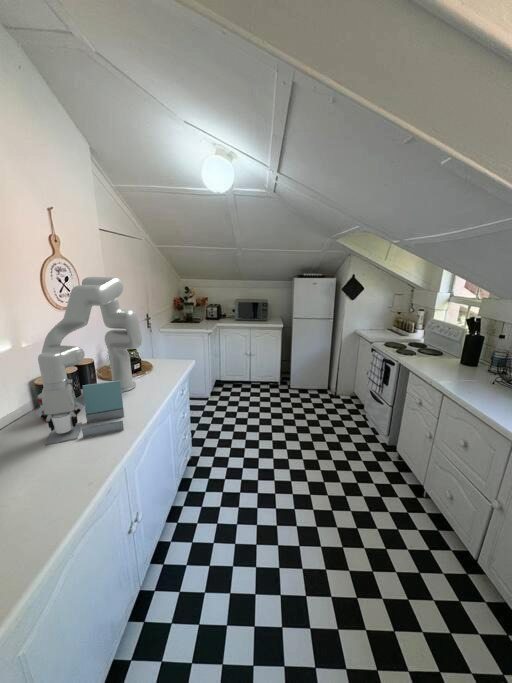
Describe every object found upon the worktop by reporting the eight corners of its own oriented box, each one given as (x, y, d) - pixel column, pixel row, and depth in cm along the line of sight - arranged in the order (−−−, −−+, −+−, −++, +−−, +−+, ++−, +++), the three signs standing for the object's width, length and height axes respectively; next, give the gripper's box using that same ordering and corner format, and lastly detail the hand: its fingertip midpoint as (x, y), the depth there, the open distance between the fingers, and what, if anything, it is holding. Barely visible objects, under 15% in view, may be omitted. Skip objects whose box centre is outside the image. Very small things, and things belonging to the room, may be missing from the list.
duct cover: (86, 414, 117) (86, 413, 118) (123, 408, 123) (123, 407, 124) (82, 385, 116) (82, 385, 117) (120, 380, 122) (120, 380, 122)
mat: (53, 428, 114) (53, 427, 114) (82, 423, 118) (81, 422, 118) (45, 445, 104) (45, 444, 104) (77, 439, 108) (77, 437, 107)
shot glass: (64, 435, 107) (61, 418, 105) (49, 433, 108) (45, 416, 106) (79, 425, 113) (76, 409, 111) (64, 423, 115) (61, 408, 113)
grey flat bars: (87, 422, 119) (86, 414, 118) (124, 415, 124) (123, 407, 123) (83, 437, 108) (81, 429, 107) (123, 430, 114) (122, 421, 113)
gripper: (84, 377, 112) (90, 417, 117) (30, 384, 106) (39, 426, 110) (81, 384, 106) (88, 427, 110) (23, 392, 99) (34, 437, 104)
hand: (64, 426), depth 110 cm, fingers open, 6 cm apart
